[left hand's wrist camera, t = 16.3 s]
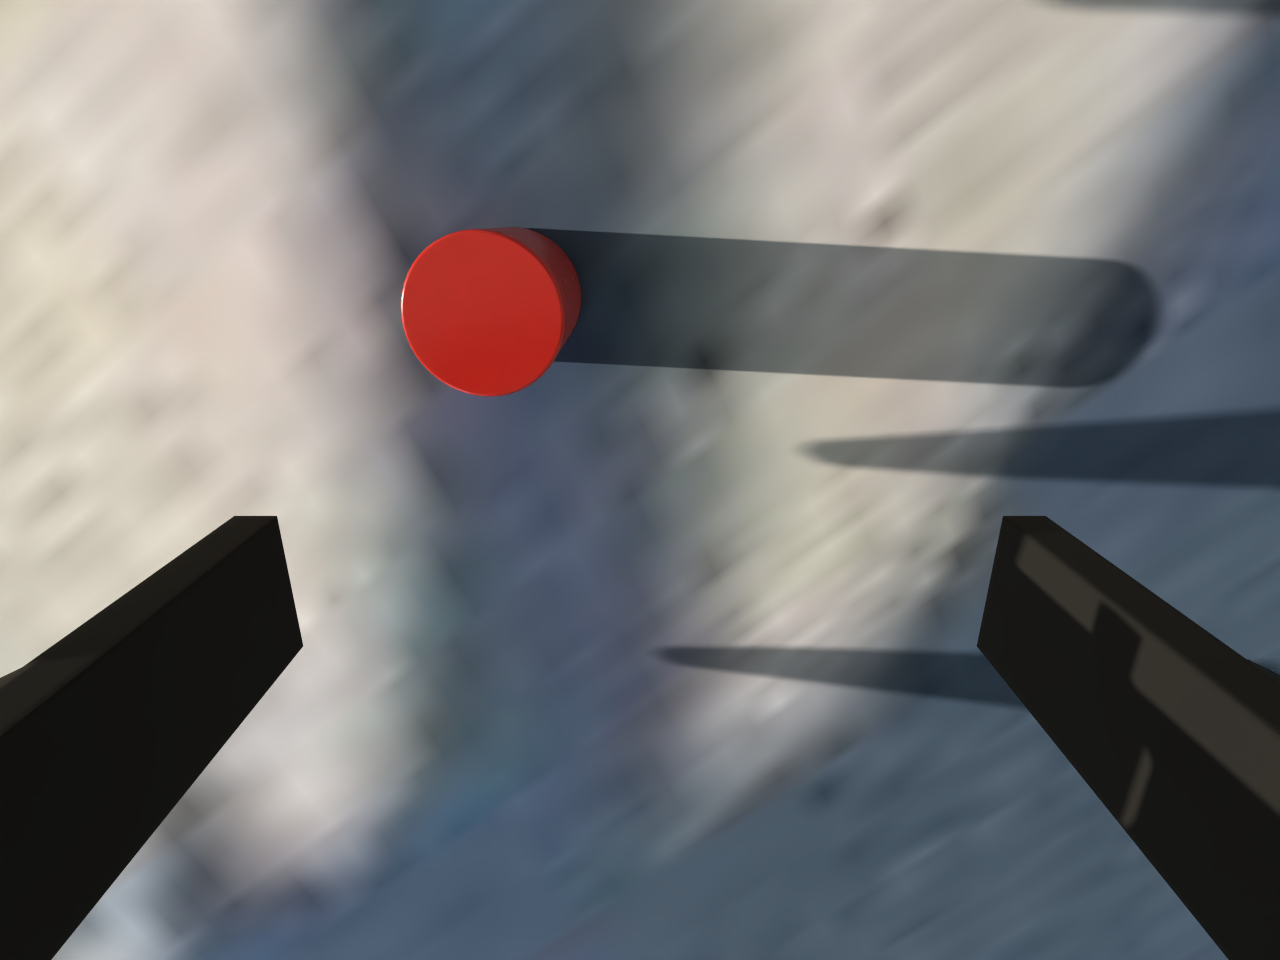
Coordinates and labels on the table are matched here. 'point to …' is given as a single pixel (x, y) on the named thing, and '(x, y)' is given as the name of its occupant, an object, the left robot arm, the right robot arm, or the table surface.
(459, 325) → the canister
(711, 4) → the table surface
